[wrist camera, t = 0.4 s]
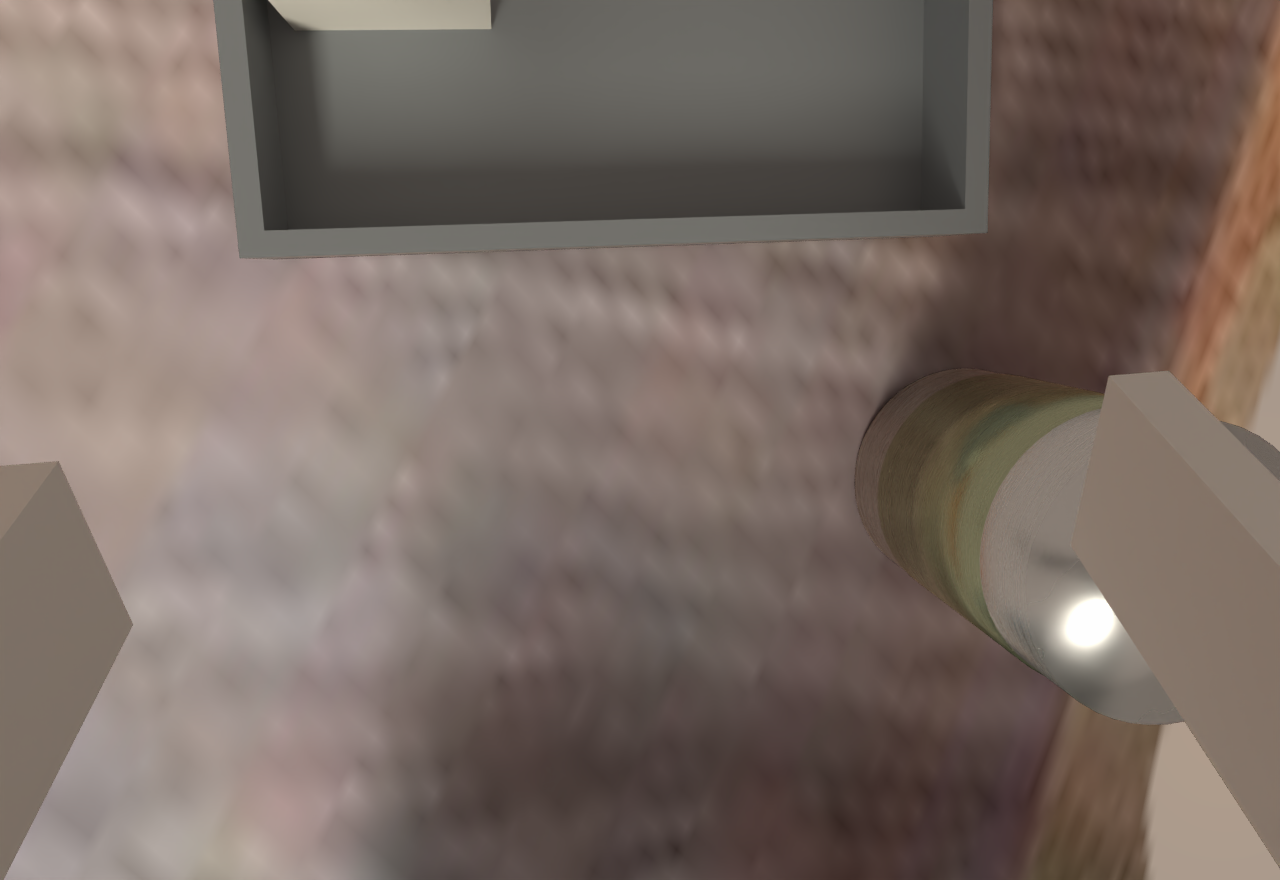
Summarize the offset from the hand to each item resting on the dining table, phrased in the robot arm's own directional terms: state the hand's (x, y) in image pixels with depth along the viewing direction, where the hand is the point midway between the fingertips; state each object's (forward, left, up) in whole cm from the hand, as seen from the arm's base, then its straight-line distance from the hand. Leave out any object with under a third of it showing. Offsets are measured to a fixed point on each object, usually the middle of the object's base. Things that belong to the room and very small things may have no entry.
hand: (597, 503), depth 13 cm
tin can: (-4, -12, -15) cm, 20 cm away
